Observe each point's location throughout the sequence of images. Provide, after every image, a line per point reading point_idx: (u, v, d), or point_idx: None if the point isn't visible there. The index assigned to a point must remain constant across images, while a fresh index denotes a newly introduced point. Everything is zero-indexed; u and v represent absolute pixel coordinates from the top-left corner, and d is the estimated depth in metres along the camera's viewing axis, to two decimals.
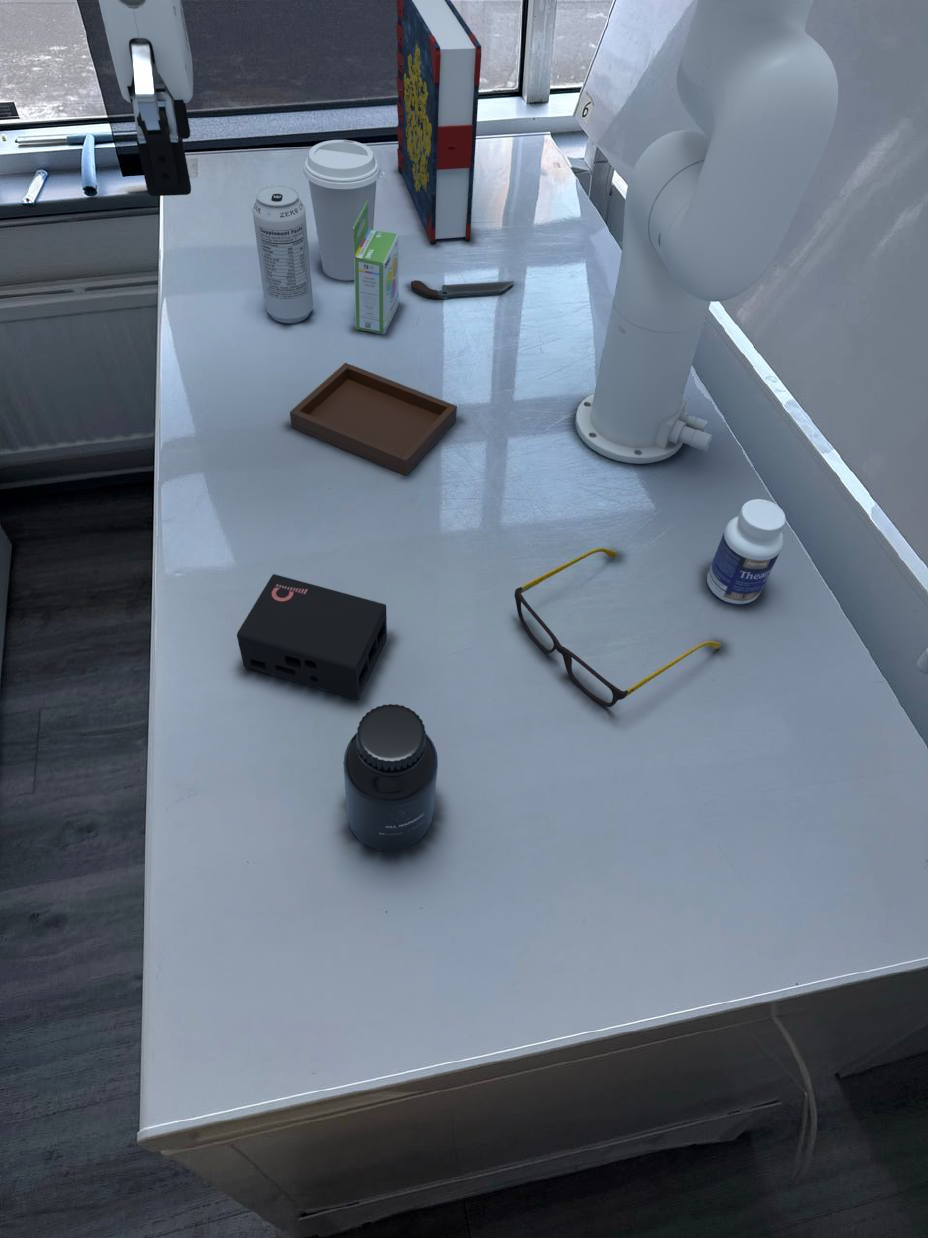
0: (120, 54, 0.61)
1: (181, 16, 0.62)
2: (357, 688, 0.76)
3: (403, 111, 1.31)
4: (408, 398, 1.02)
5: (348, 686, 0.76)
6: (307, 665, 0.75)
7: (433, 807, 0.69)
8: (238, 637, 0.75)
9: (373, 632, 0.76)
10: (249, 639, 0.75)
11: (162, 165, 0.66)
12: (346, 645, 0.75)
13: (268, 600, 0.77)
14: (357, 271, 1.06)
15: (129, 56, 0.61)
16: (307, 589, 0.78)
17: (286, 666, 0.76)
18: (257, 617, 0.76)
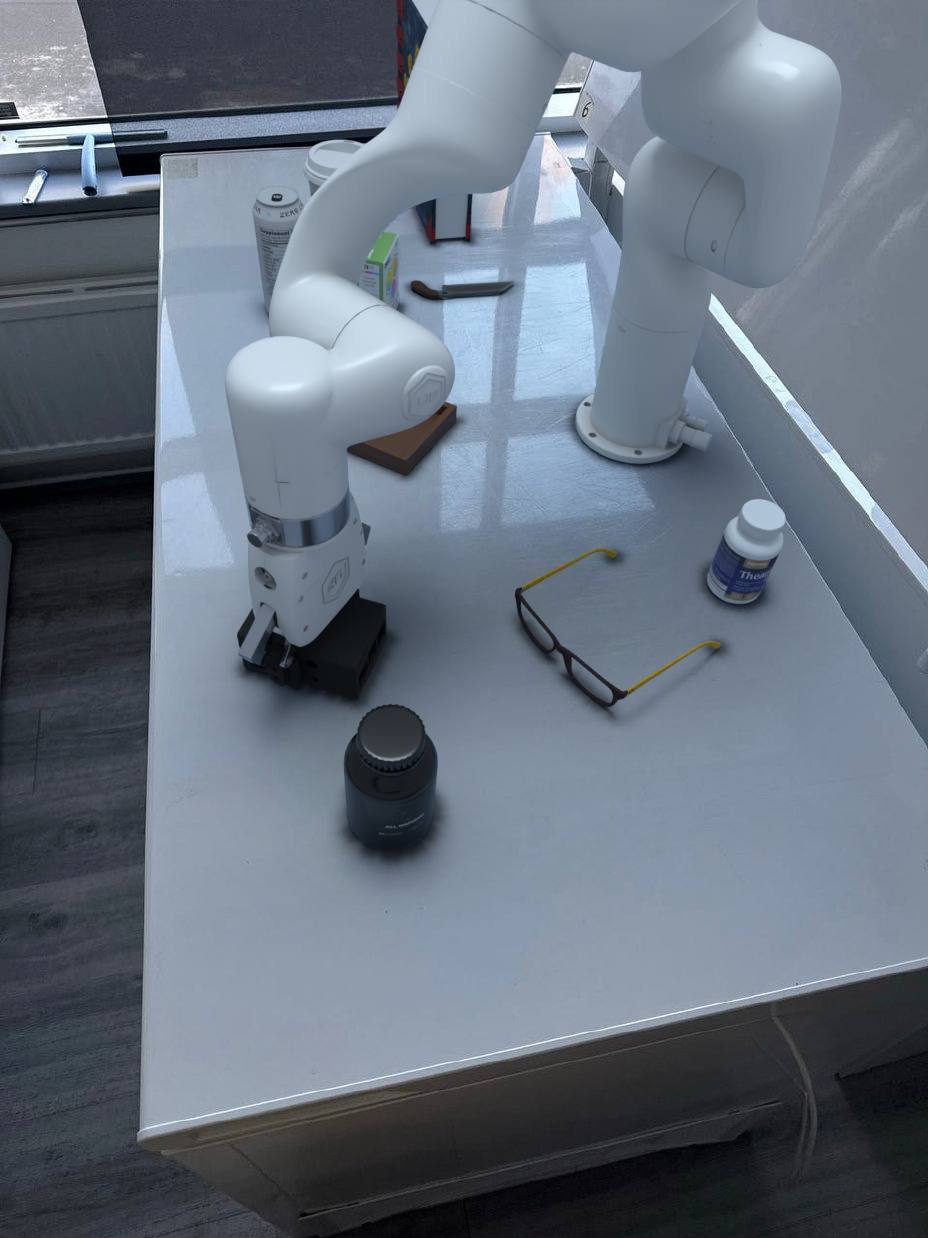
0: (254, 605, 0.69)
1: (323, 588, 0.69)
2: (357, 688, 0.76)
3: None
4: None
5: (348, 686, 0.76)
6: (307, 665, 0.75)
7: (433, 807, 0.69)
8: (238, 637, 0.75)
9: (373, 632, 0.76)
10: None
11: (274, 672, 0.74)
12: (347, 645, 0.75)
13: None
14: None
15: None
16: None
17: None
18: None
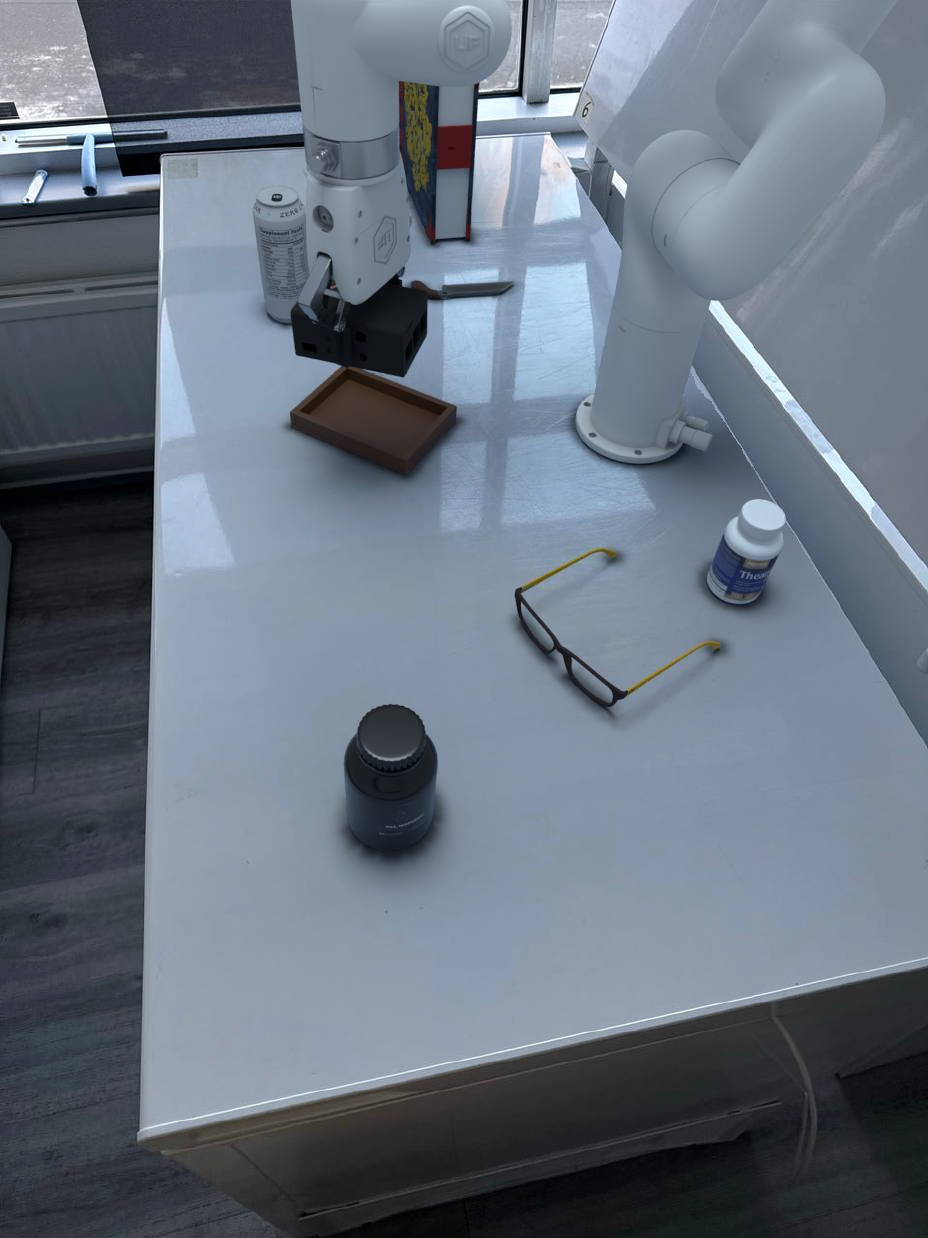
0: (311, 258, 0.74)
1: (374, 241, 0.74)
2: (404, 362, 0.81)
3: (403, 111, 1.31)
4: (408, 398, 1.02)
5: (395, 360, 0.81)
6: (357, 340, 0.80)
7: (433, 807, 0.69)
8: (291, 314, 0.80)
9: (417, 310, 0.81)
10: (302, 315, 0.80)
11: (328, 343, 0.79)
12: (393, 318, 0.80)
13: None
14: None
15: None
16: None
17: None
18: None
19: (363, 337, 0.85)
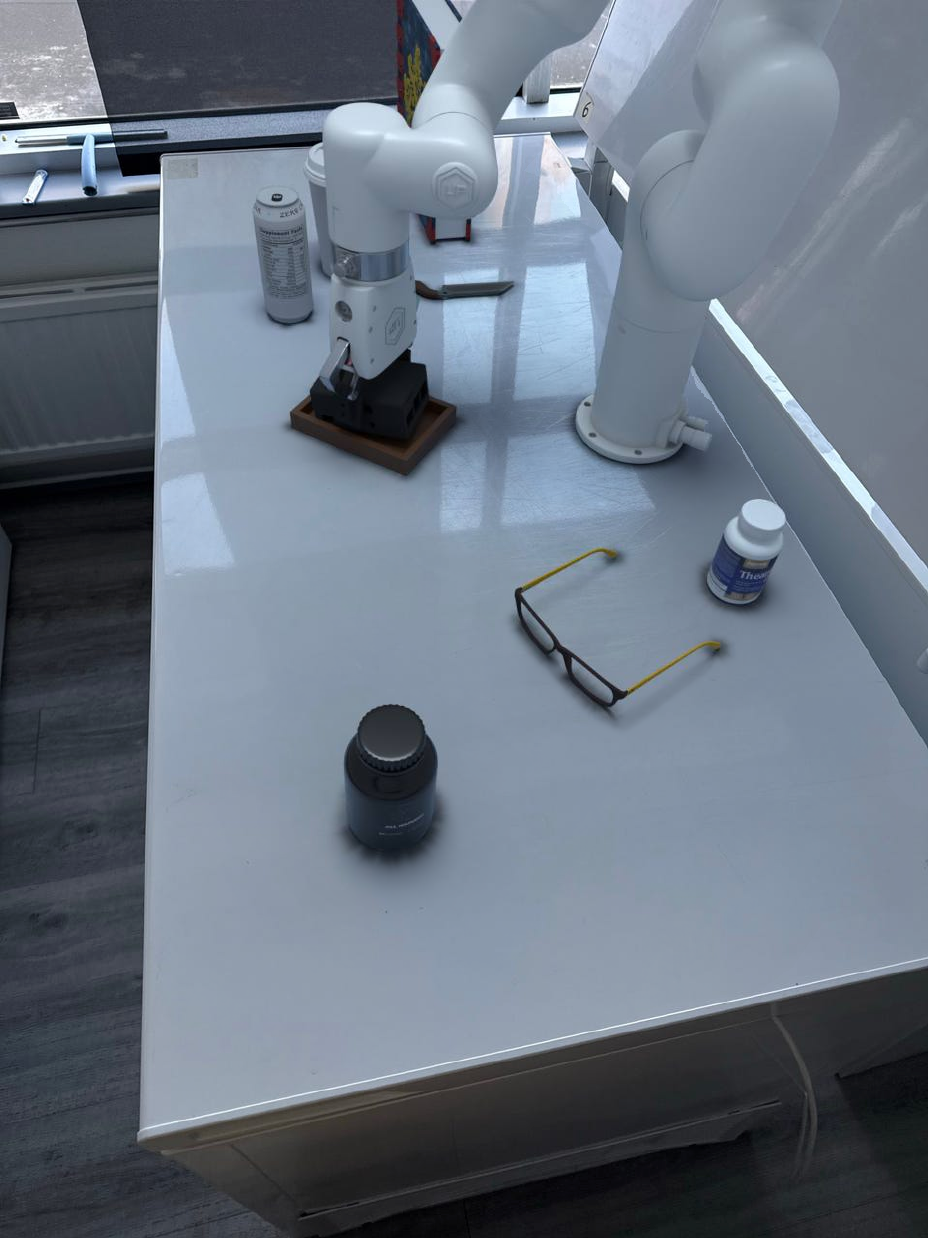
0: (332, 341, 0.89)
1: (386, 328, 0.88)
2: (406, 428, 0.95)
3: (403, 111, 1.31)
4: None
5: (398, 426, 0.95)
6: (365, 412, 0.95)
7: (433, 807, 0.69)
8: (310, 393, 0.95)
9: (416, 383, 0.95)
10: (319, 393, 0.95)
11: (342, 408, 0.93)
12: (395, 392, 0.94)
13: None
14: None
15: None
16: None
17: None
18: None
19: None
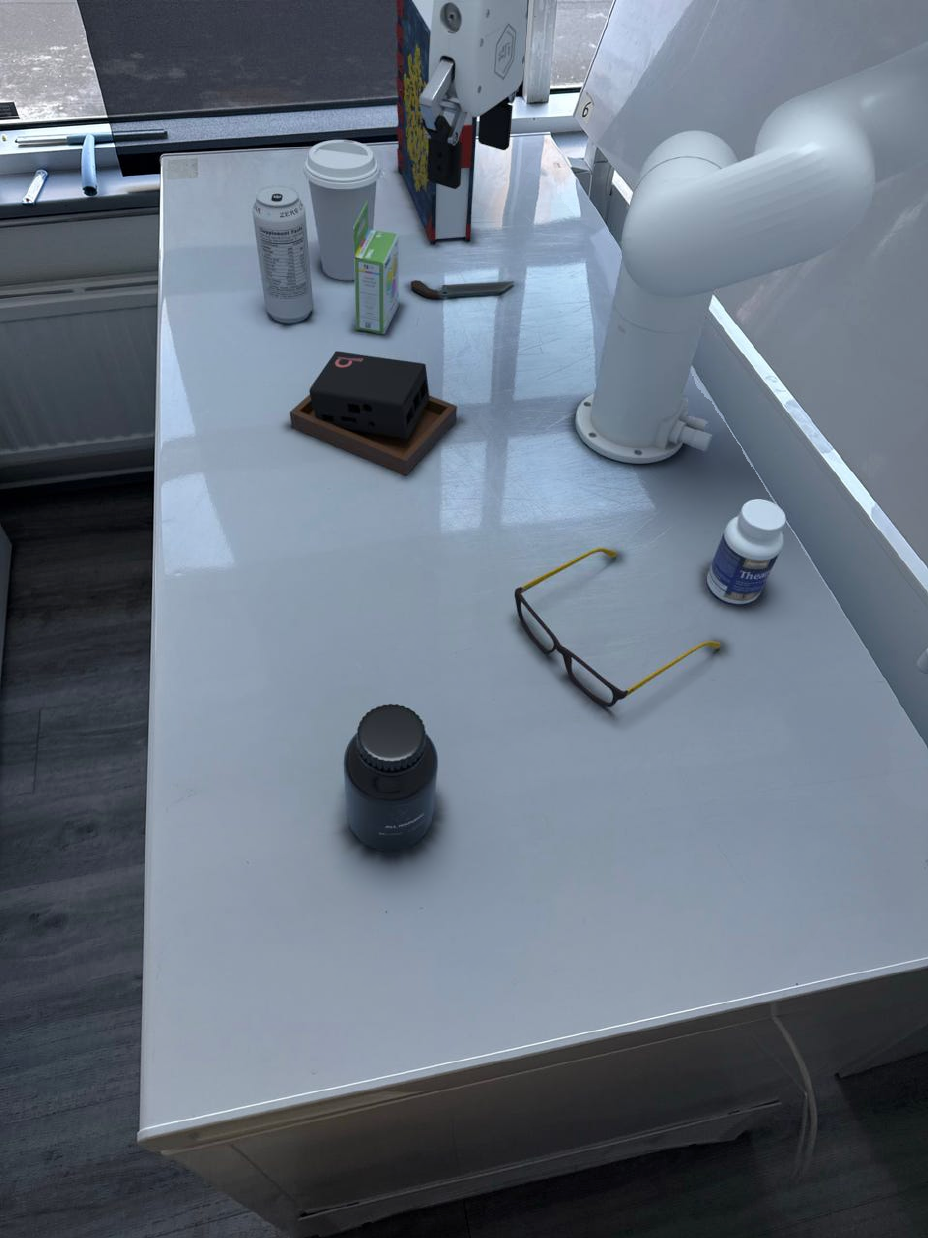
0: (433, 65, 0.75)
1: (496, 49, 0.75)
2: (405, 427, 0.95)
3: (403, 111, 1.31)
4: None
5: (398, 425, 0.95)
6: (365, 411, 0.95)
7: (433, 807, 0.69)
8: (310, 392, 0.96)
9: (415, 382, 0.95)
10: (319, 393, 0.95)
11: (439, 159, 0.80)
12: (394, 390, 0.94)
13: (333, 367, 0.98)
14: (357, 271, 1.06)
15: None
16: (363, 358, 0.98)
17: (349, 415, 0.96)
18: (324, 378, 0.96)
19: None
